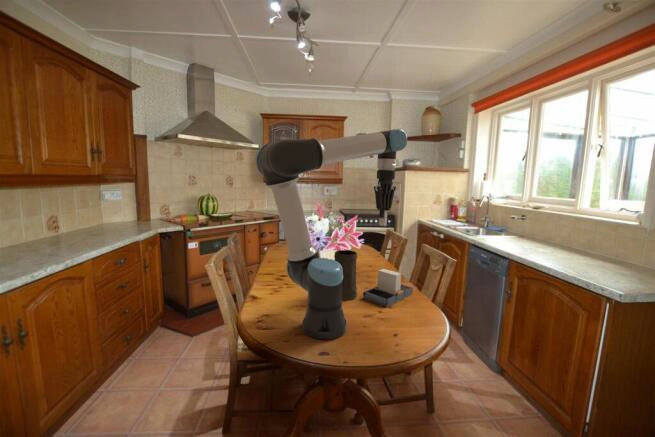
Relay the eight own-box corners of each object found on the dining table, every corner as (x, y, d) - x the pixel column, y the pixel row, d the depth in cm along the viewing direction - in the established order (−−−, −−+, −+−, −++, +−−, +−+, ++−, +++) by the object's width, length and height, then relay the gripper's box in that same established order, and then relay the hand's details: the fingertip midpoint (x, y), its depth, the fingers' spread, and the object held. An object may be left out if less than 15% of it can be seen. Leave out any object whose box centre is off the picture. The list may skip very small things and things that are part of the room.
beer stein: (355, 302, 127) (357, 254, 125) (330, 299, 129) (331, 253, 127) (358, 291, 142) (360, 248, 140) (336, 288, 144) (337, 247, 142)
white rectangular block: (395, 298, 129) (396, 275, 127) (377, 292, 135) (378, 270, 134) (400, 295, 132) (401, 273, 130) (382, 289, 138) (383, 268, 136)
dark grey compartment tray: (386, 307, 122) (387, 298, 122) (363, 298, 131) (363, 290, 130) (412, 294, 137) (413, 286, 136) (389, 286, 145) (390, 279, 144)
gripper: (384, 168, 119) (380, 228, 122) (402, 170, 128) (398, 225, 131) (369, 168, 125) (366, 225, 128) (387, 170, 134) (384, 223, 137)
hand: (382, 225), depth 130 cm, fingers closed
